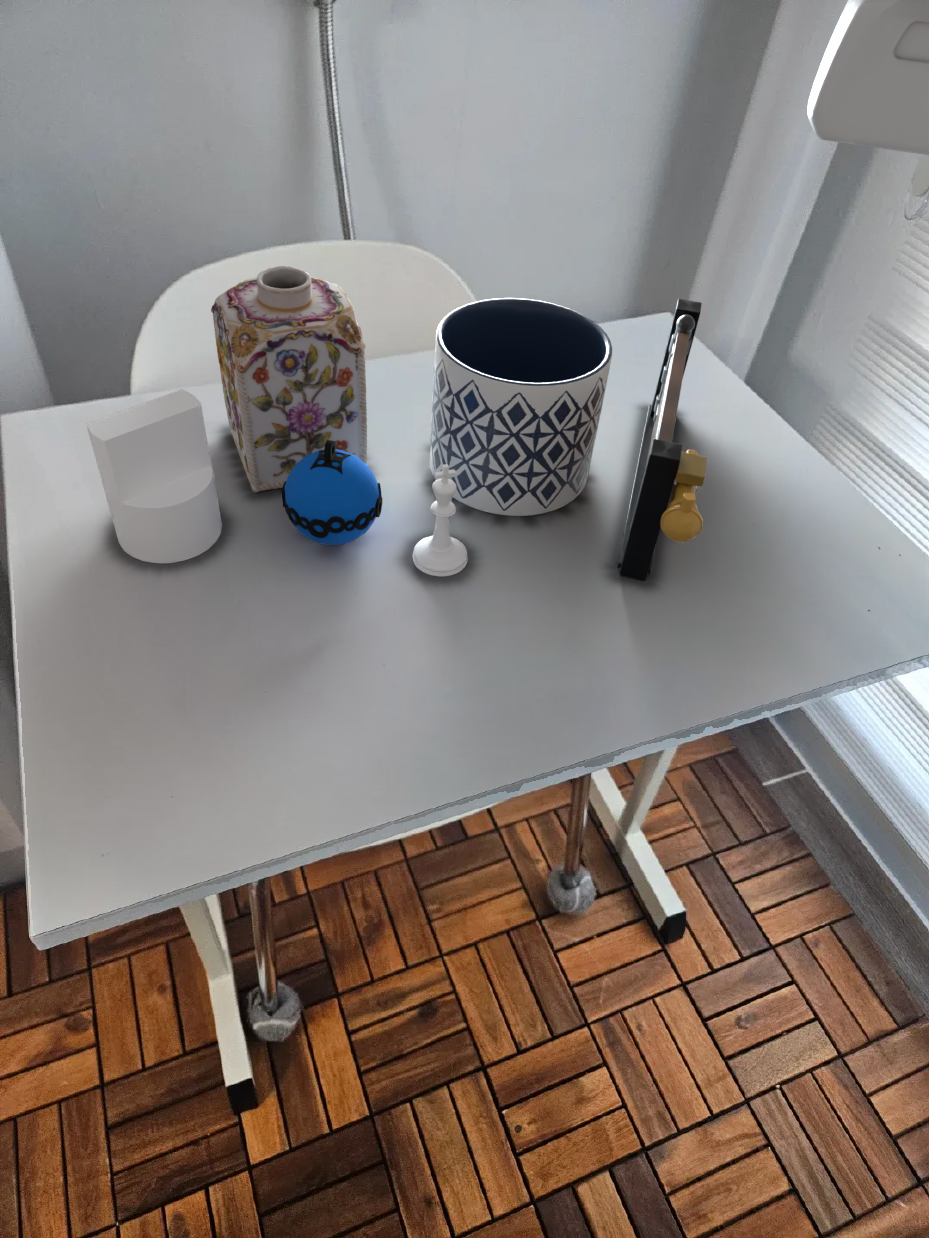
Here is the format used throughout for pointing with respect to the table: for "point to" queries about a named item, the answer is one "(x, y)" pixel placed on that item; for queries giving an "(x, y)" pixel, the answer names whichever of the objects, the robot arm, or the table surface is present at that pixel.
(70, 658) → the table surface
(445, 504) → the chess piece
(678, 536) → the bolt
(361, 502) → the ornament
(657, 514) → the gate frame
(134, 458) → the cylinder with rectangular tab
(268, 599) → the table surface
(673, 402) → the gate
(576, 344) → the planter
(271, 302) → the decorative jar
